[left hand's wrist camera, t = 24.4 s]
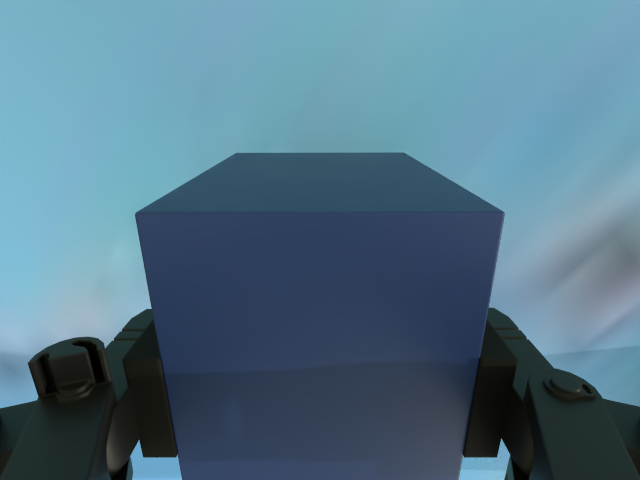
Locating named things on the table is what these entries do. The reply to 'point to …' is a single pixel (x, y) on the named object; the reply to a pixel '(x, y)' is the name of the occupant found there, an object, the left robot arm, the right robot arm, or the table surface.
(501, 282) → the table surface
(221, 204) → the brick
